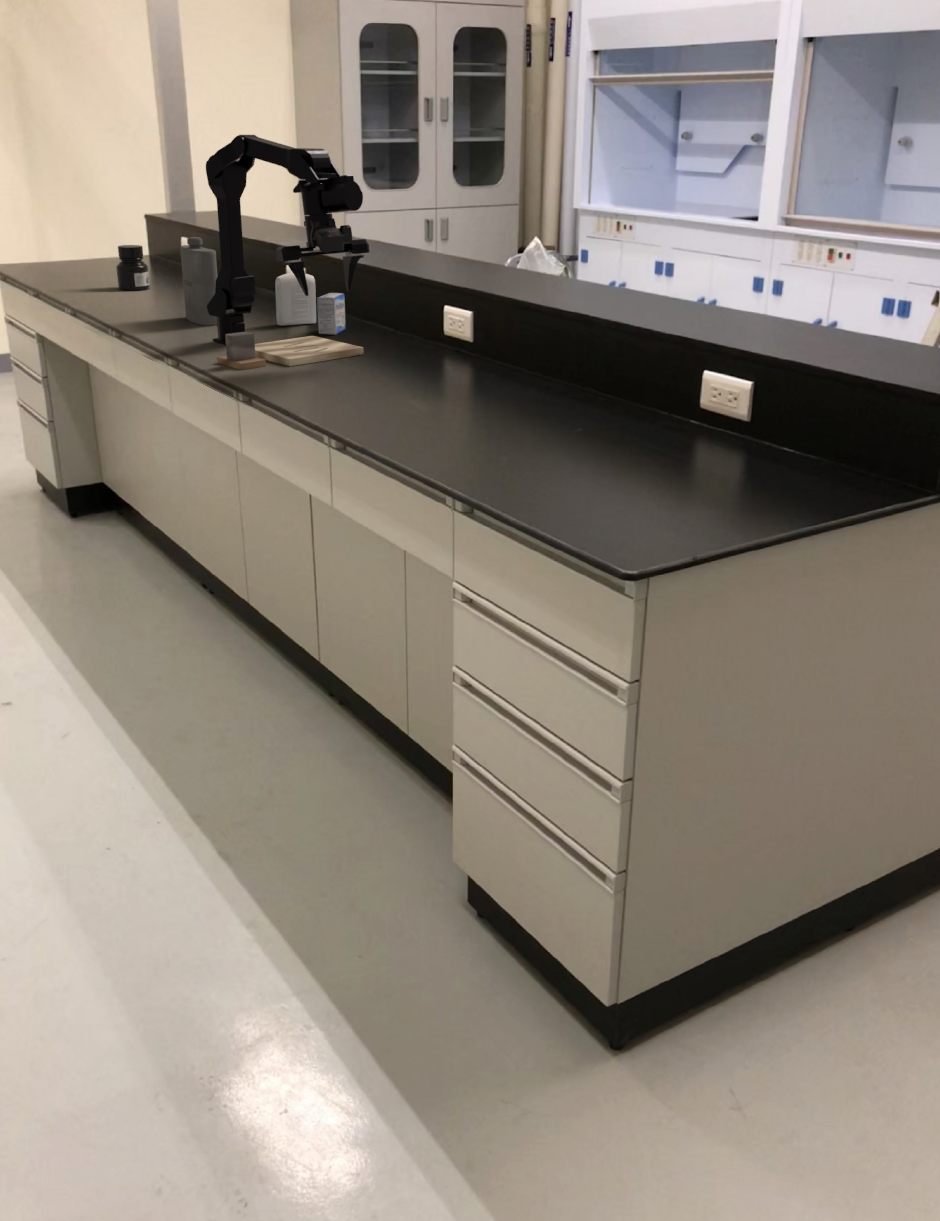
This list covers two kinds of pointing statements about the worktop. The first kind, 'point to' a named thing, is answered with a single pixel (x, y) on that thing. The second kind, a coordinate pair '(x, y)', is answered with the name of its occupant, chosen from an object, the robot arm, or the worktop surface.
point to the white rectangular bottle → (295, 300)
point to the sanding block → (241, 352)
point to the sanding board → (305, 350)
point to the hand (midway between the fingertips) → (327, 293)
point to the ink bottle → (132, 268)
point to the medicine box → (331, 313)
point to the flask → (198, 280)
